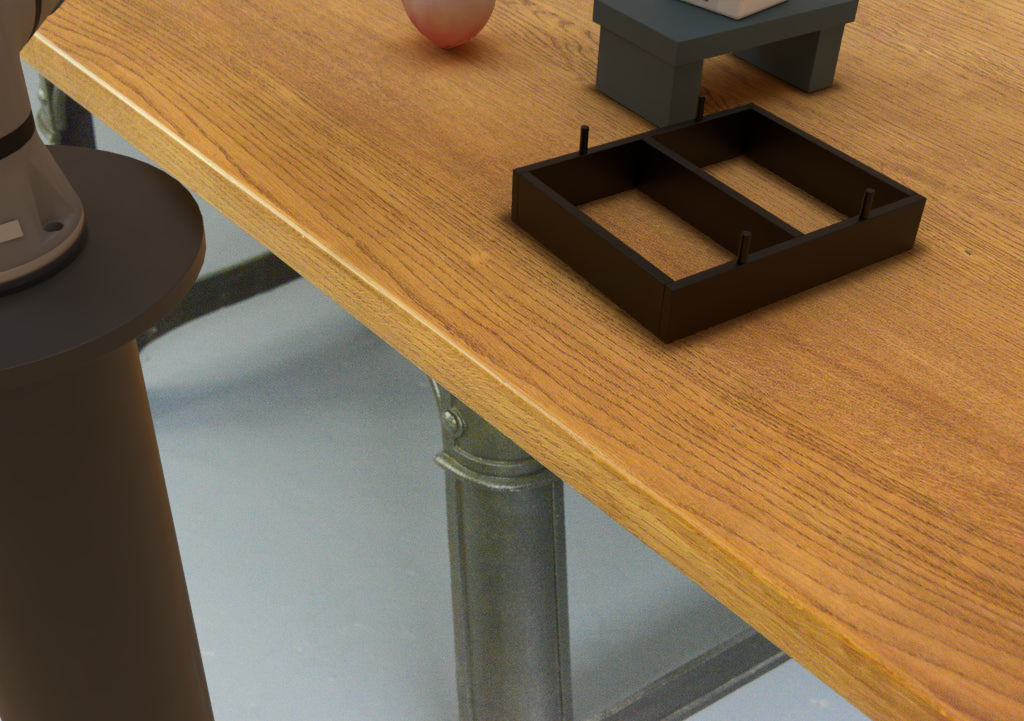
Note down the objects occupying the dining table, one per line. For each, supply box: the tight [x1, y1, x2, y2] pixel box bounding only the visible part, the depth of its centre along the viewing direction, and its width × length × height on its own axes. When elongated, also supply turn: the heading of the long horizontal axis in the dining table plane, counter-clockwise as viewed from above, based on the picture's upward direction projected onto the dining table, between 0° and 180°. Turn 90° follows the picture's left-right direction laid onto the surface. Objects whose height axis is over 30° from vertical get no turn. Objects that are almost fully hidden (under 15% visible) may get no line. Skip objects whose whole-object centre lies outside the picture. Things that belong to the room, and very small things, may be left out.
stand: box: [591, 0, 860, 128], centre depth 99 cm, size 11×20×8 cm, turn 123°
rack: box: [510, 93, 928, 345], centre depth 80 cm, size 18×22×6 cm
